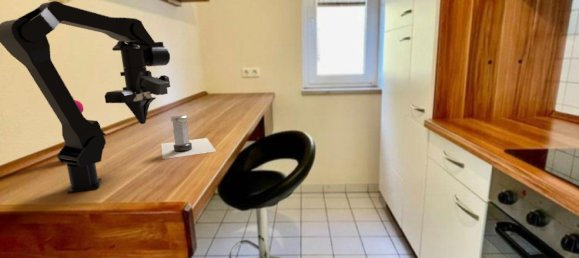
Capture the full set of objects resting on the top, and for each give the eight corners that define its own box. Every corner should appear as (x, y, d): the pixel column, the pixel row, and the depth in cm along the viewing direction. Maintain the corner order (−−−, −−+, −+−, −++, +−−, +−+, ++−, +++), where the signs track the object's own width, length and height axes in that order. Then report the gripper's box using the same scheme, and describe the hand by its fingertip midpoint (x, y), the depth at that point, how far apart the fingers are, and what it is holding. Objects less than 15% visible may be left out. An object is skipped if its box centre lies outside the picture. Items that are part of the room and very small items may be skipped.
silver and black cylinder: (186, 152, 106) (182, 118, 103) (170, 151, 107) (166, 118, 104) (195, 147, 111) (191, 115, 109) (180, 147, 112) (176, 115, 110)
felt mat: (216, 152, 106) (216, 151, 105) (162, 159, 100) (162, 158, 100) (207, 138, 124) (206, 137, 124) (161, 144, 118) (161, 143, 118)
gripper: (136, 68, 80) (145, 132, 83) (180, 65, 97) (186, 117, 101) (98, 70, 83) (108, 131, 86) (147, 66, 100) (154, 117, 104)
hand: (142, 123), depth 94 cm, fingers closed
